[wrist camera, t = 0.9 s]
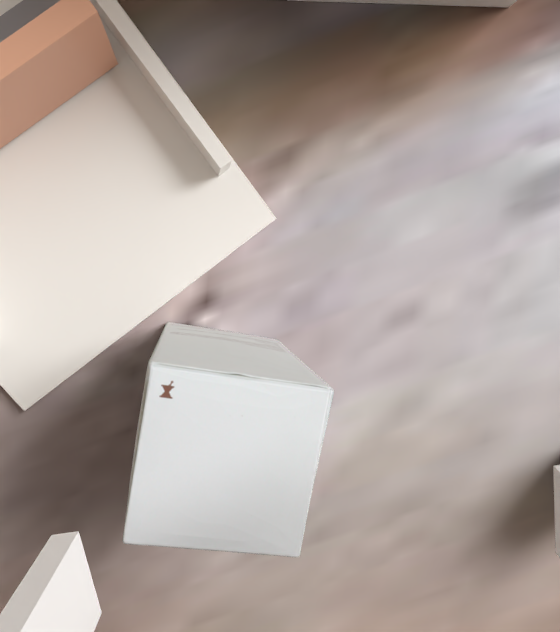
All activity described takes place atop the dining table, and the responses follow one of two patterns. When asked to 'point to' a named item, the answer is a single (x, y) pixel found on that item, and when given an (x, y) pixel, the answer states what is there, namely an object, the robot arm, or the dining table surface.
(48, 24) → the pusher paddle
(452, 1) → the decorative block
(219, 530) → the supplement box
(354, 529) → the dining table surface
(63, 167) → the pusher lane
